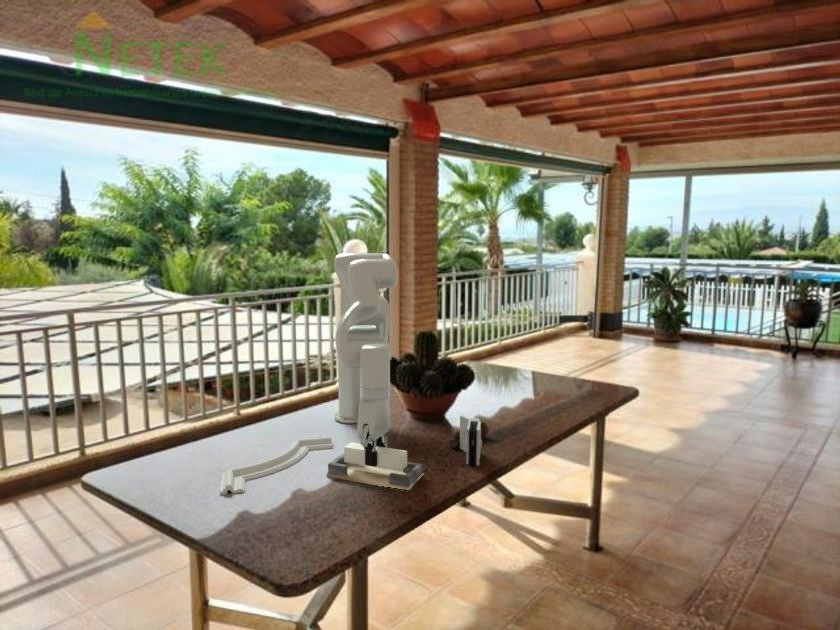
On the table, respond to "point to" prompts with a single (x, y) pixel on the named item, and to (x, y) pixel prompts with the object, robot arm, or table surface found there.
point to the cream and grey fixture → (375, 474)
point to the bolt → (456, 438)
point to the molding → (271, 464)
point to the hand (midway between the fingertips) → (375, 461)
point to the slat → (385, 457)
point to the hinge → (470, 438)
